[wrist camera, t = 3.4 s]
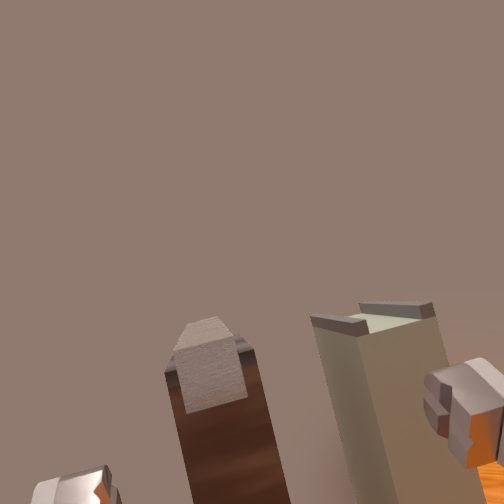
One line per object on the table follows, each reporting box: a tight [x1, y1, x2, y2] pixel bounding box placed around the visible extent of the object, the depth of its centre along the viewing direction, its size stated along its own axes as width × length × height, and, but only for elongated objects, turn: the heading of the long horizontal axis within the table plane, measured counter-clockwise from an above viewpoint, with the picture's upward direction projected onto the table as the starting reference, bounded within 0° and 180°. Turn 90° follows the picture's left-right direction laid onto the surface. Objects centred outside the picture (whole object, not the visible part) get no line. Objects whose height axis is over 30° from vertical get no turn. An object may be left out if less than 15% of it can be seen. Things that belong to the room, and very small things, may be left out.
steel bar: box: [173, 317, 248, 414], centre depth 32 cm, size 22×3×3 cm, turn 7°
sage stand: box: [310, 301, 487, 504], centre depth 36 cm, size 12×6×30 cm, turn 7°
